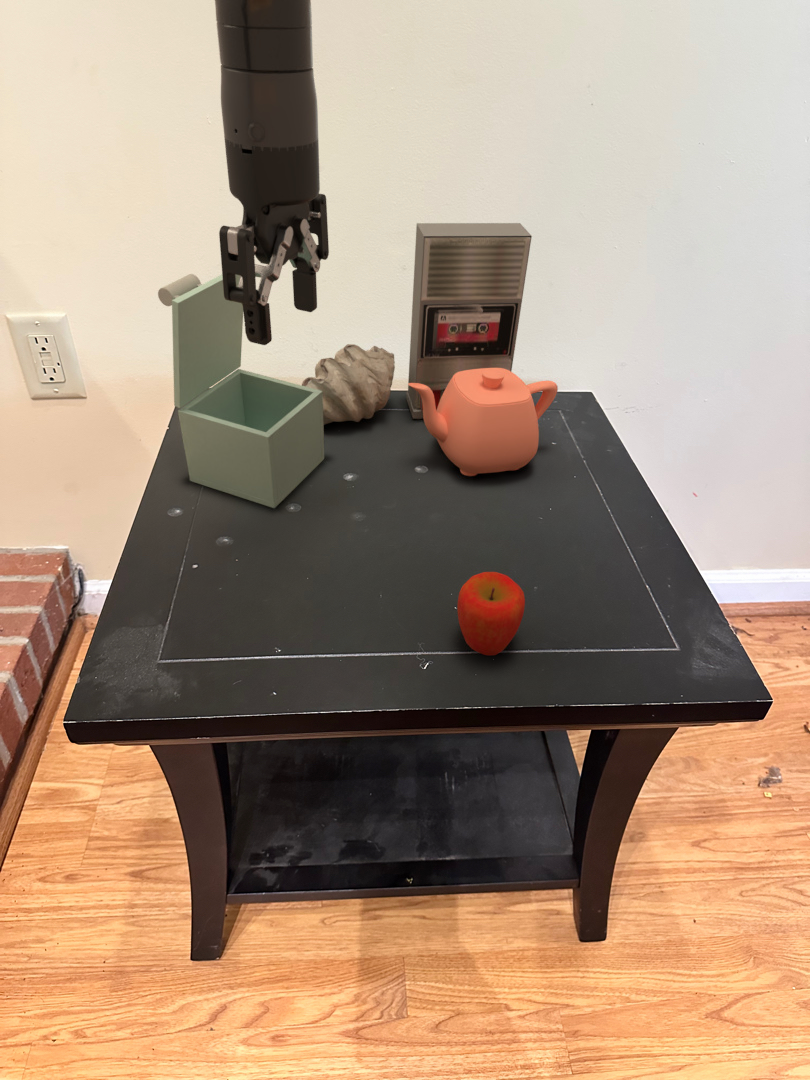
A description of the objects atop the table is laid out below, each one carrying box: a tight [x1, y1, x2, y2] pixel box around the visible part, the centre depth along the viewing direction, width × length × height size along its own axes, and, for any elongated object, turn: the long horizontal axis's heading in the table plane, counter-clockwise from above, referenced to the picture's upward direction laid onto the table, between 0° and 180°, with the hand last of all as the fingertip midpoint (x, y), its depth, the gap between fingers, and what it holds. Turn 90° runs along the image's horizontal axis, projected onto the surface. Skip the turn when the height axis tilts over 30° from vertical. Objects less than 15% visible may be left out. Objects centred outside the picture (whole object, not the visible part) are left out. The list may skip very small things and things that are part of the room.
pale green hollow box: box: [177, 368, 325, 509], centre depth 89 cm, size 12×12×10 cm
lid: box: [157, 273, 244, 409], centre depth 83 cm, size 13×12×5 cm
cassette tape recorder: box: [405, 222, 533, 420], centre depth 98 cm, size 14×6×25 cm, turn 99°
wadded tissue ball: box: [301, 343, 396, 426], centre depth 100 cm, size 10×15×10 cm
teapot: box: [407, 368, 559, 477], centre depth 93 cm, size 13×20×12 cm, turn 106°
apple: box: [457, 571, 526, 657], centre depth 68 cm, size 6×6×8 cm
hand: (283, 325), depth 69 cm, fingers open, 8 cm apart
